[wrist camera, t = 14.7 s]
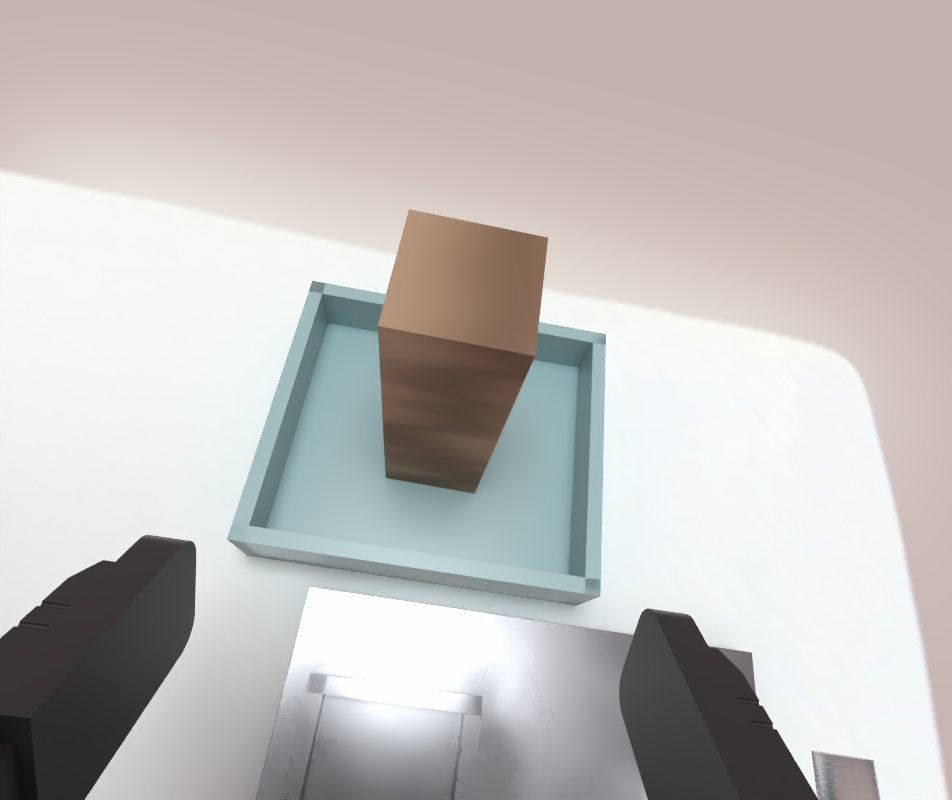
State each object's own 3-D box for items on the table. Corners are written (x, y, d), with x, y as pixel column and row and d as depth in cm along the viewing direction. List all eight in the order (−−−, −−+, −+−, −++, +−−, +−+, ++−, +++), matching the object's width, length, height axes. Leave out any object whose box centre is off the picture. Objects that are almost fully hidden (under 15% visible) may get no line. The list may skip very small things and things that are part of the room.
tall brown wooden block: (385, 477, 24) (377, 325, 14) (403, 398, 26) (409, 209, 16) (474, 493, 25) (535, 355, 14) (486, 413, 26) (548, 237, 16)
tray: (246, 554, 23) (227, 539, 20) (320, 318, 28) (312, 281, 26) (577, 604, 24) (600, 596, 21) (586, 365, 29) (605, 334, 26)
